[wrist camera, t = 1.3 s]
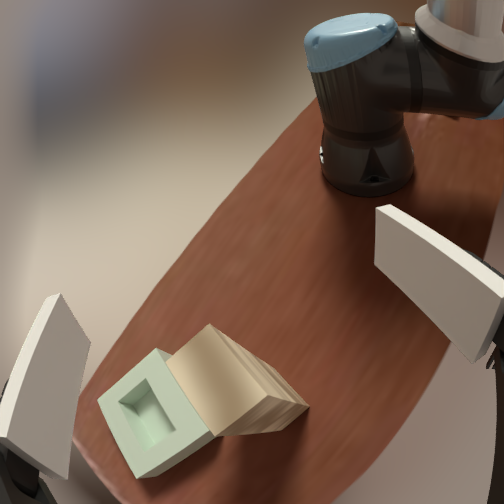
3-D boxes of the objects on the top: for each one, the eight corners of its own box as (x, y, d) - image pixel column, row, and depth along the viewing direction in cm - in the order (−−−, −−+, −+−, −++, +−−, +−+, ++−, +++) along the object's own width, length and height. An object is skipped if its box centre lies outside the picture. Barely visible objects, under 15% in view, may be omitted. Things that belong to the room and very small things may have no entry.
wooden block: (274, 368, 31) (209, 323, 18) (309, 406, 27) (267, 394, 15) (247, 391, 30) (165, 362, 18) (281, 430, 27) (214, 436, 14)
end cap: (173, 356, 36) (156, 347, 32) (225, 430, 28) (209, 430, 25) (117, 404, 34) (97, 399, 31) (156, 476, 27) (136, 478, 24)
